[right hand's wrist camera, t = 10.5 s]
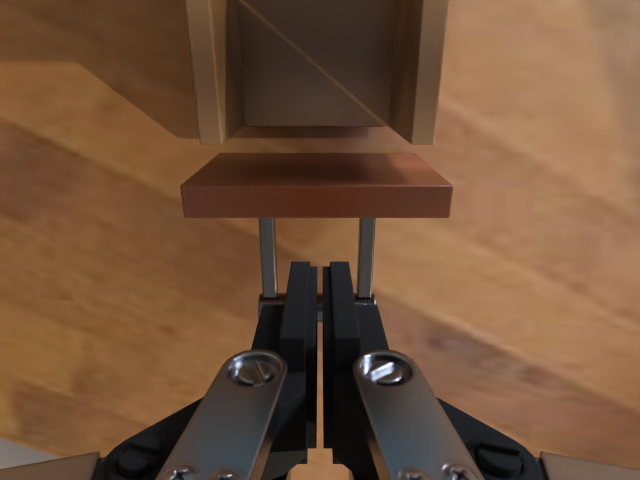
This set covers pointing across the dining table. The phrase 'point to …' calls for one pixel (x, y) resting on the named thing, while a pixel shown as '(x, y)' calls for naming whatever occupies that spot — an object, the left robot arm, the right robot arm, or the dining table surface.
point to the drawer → (316, 114)
